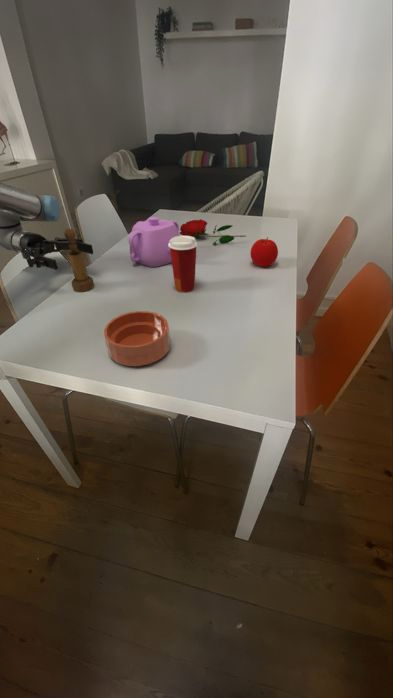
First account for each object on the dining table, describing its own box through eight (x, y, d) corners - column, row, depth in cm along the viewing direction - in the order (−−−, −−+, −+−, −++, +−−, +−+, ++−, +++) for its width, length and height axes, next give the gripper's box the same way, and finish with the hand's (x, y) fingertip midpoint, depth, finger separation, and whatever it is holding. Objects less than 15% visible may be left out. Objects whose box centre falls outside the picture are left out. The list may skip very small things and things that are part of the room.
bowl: (101, 368, 69) (95, 346, 66) (117, 331, 81) (113, 310, 77) (166, 369, 69) (163, 347, 65) (173, 332, 80) (171, 311, 76)
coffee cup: (201, 283, 100) (201, 236, 91) (192, 295, 94) (191, 246, 85) (177, 280, 103) (174, 233, 93) (167, 292, 97) (162, 243, 87)
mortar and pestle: (78, 282, 103) (63, 225, 92) (97, 282, 102) (84, 225, 91) (69, 291, 98) (52, 232, 87) (89, 292, 97) (74, 233, 86)
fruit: (249, 269, 108) (251, 240, 102) (249, 259, 115) (252, 231, 109) (276, 270, 107) (280, 241, 101) (275, 260, 114) (279, 232, 108)
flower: (248, 215, 119) (181, 213, 132) (240, 234, 116) (171, 230, 129) (252, 234, 126) (188, 230, 140) (244, 252, 123) (179, 246, 136)
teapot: (138, 248, 126) (133, 210, 118) (190, 248, 125) (189, 210, 116) (126, 267, 111) (119, 226, 103) (185, 268, 110) (183, 226, 101)
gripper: (65, 244, 114) (107, 255, 105) (-1, 268, 98) (42, 284, 89) (59, 222, 110) (102, 232, 100) (-11, 244, 93) (33, 258, 84)
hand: (74, 256), depth 95 cm, fingers open, 13 cm apart
